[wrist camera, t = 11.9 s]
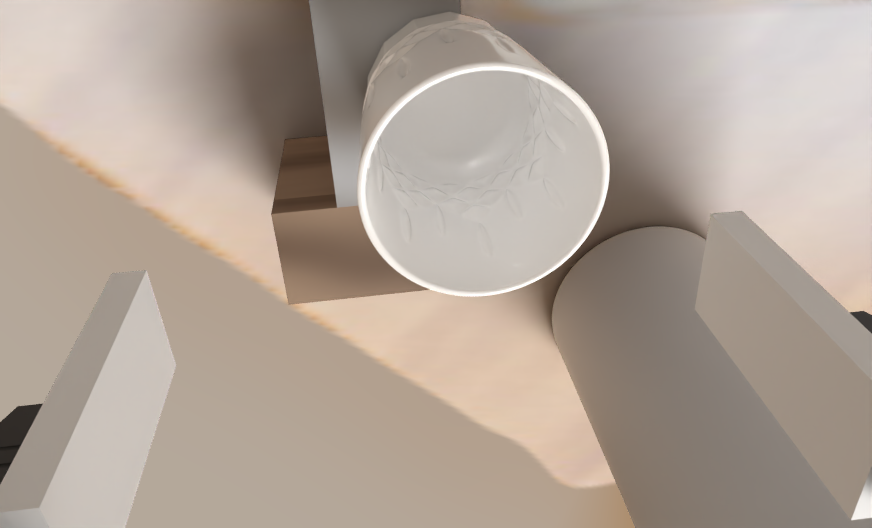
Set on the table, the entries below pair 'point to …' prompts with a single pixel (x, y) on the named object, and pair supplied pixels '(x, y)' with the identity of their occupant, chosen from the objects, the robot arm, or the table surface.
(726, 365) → the cylinder vase
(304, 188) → the shelf
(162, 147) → the table surface
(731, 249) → the robot arm
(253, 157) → the table surface
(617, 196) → the table surface
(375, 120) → the white cup
